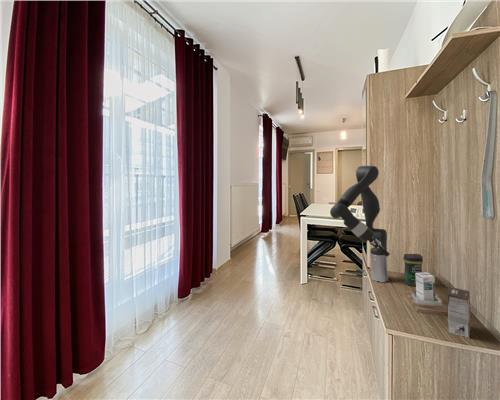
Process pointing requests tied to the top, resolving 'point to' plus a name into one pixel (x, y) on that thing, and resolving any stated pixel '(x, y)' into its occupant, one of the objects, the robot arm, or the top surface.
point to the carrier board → (429, 309)
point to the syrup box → (425, 286)
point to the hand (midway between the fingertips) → (386, 252)
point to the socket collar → (427, 301)
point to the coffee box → (459, 312)
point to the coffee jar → (412, 268)
